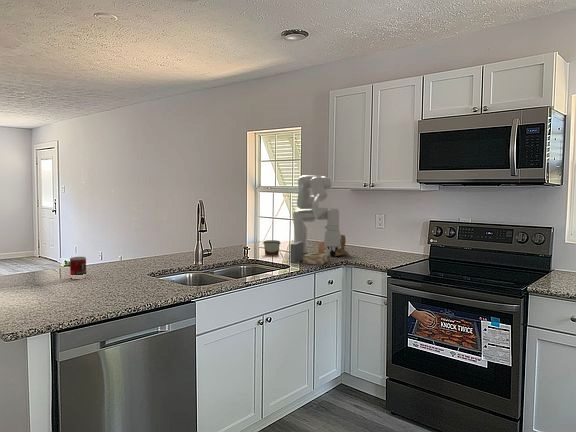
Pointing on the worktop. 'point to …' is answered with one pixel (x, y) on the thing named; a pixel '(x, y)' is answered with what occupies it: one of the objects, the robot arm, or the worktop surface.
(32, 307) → the worktop surface
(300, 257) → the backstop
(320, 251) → the dowel
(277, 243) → the food container
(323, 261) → the beige square ring
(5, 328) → the worktop surface
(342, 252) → the brown chunky piece
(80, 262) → the canned food
